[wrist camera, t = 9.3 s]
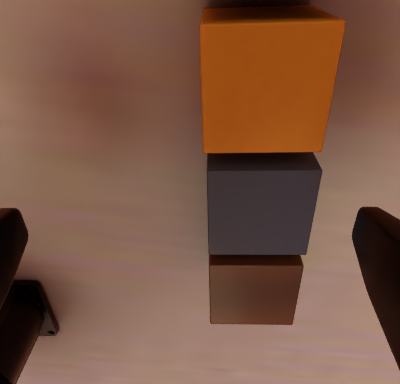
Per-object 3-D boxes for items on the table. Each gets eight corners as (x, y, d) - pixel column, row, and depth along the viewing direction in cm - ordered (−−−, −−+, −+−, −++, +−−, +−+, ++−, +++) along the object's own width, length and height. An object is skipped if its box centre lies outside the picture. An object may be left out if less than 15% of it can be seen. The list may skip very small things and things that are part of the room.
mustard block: (301, 110, 19) (326, 152, 14) (205, 111, 19) (202, 154, 15) (315, 5, 16) (351, 20, 12) (203, 8, 16) (199, 24, 12)
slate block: (291, 199, 22) (309, 255, 18) (209, 199, 22) (208, 254, 18) (301, 125, 19) (326, 170, 15) (208, 126, 19) (207, 171, 15)
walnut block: (282, 265, 25) (295, 325, 21) (210, 264, 25) (210, 324, 21) (289, 209, 22) (307, 266, 18) (209, 209, 22) (208, 266, 18)
